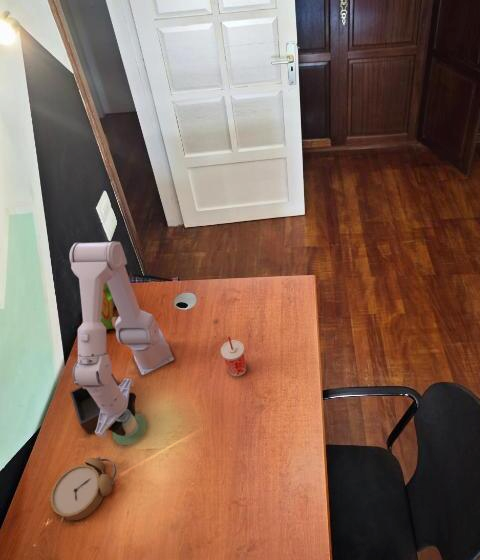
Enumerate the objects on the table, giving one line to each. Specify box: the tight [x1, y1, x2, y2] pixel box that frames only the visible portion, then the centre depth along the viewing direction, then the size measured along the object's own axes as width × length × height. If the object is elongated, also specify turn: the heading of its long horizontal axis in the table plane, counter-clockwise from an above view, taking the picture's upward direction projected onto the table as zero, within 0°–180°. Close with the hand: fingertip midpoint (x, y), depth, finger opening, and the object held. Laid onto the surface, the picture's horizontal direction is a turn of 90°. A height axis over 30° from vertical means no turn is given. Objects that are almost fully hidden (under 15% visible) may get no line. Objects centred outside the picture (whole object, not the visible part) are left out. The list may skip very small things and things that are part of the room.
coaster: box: [112, 413, 148, 446], centre depth 121 cm, size 9×9×1 cm
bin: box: [69, 373, 120, 435], centre depth 124 cm, size 11×11×5 cm
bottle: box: [116, 409, 139, 437], centre depth 118 cm, size 5×5×9 cm
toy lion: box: [101, 282, 118, 332], centre depth 143 cm, size 16×5×15 cm, turn 12°
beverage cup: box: [220, 336, 247, 377], centre depth 126 cm, size 6×6×14 cm
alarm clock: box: [48, 456, 118, 524], centre depth 110 cm, size 11×5×15 cm
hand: (126, 424), depth 119 cm, fingers closed on bottle, 5 cm apart
